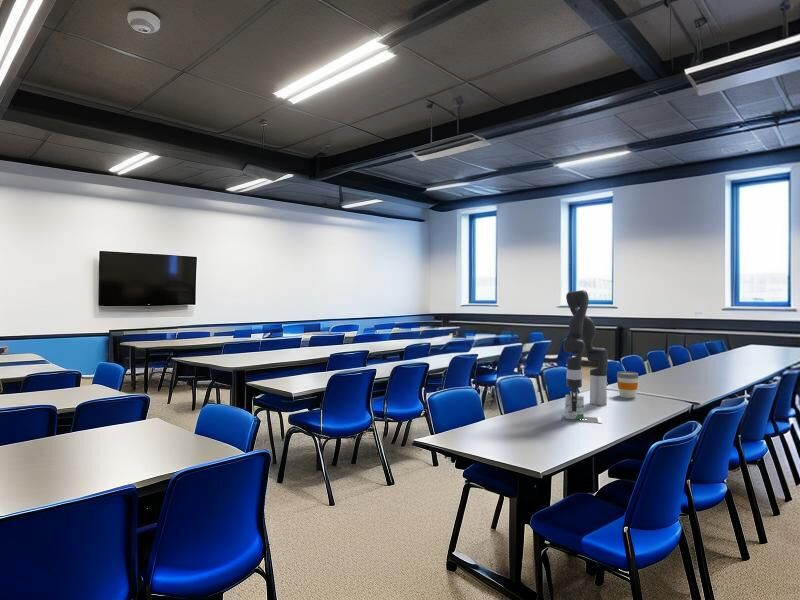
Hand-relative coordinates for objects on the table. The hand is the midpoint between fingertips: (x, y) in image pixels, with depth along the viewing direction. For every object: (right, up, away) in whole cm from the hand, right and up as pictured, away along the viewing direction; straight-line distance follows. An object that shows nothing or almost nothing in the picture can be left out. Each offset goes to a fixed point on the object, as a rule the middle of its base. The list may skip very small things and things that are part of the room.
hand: (574, 409), depth 263 cm
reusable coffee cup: (+54, -4, +58) cm, 79 cm away
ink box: (0, -5, 0) cm, 5 cm away
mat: (+3, -5, -1) cm, 6 cm away
